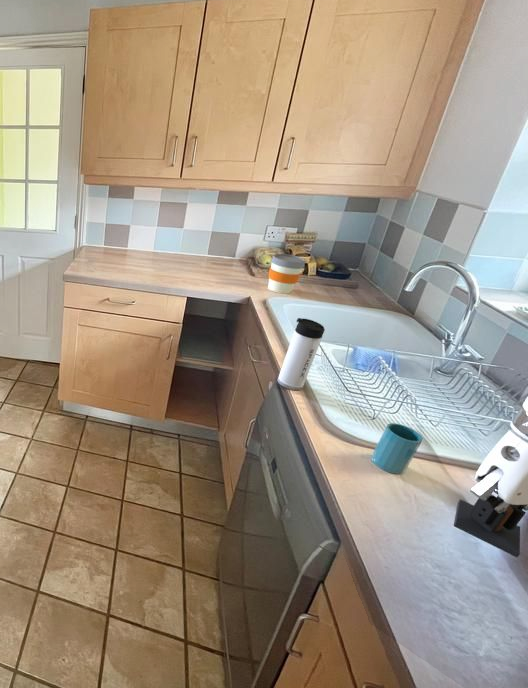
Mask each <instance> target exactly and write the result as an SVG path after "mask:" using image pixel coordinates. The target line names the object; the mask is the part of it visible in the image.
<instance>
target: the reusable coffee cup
mask: <svg viewBox="0 0 528 688" xmlns="http://www.w3.org/2000/svg"><path fill="white" fill-rule="evenodd" d="M270 262H271V266H269V271H268V283H267V284H268V285H267V289H268V290H269V291H271V292H274V293H278V294H291V292H292V290H293V288H294V287H295V284H297V283H298V281H299V279H300V278H301V275H302V271H303V269H304V268H305V264H306V259H305V258H303V257H301V256H298V255H294V254H288V253H275V254H273V256H272V258H271V260H270Z"/></svg>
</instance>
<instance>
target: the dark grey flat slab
mask: <svg viewBox="0 0 528 688" xmlns="http://www.w3.org/2000/svg"><path fill="white" fill-rule="evenodd" d="M498 500H499V499H498ZM499 501H500V500H499ZM474 505H475V504H471V503H470V502H467V501H465V500H463V499H458V501H457V504H456V510H455V516H454V521H453V527H455V528H456V529H459V530H460V531H462V532H464V533H467V534H468V535H471V536H472V537H475V538H476V539H479V540H480V541H483V542H484V543H487V544H489V545H490V546H493V547H495V548H497V549H498V550H501V551H502V552H505V553H507V554H509V555H510V556H513V557H515V558H519V556H520V554H521V526H519V525H518V524H517V525H516V527H515V528H514V529H513V530H508V529H506V528H505V527H503V524H504V523H505V522H506V520H507V519H508V518H509V516H510V515H511V514H512V512H513V511H514V509H513V508H512V507H511V506H510V505H509V506H508V507H507V509H506V510H505V511H504V512H505V513H506V514H507V515H506V516H505V518H504V519H503V521H502V522H501V523H500V525H499V526H498V527H497V529H496V530H495V531H491V532H490V531H488V530H487V529H486V528H484V527H483V526H482V525H481V524H479V523H478V522H477V521H476V520H474V519H473V518H472V517H471V516H470V515H469V512H470V511H471V509H472V508H473V506H474Z"/></svg>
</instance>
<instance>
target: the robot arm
mask: <svg viewBox="0 0 528 688" xmlns="http://www.w3.org/2000/svg"><path fill="white" fill-rule="evenodd" d="M509 425H510V429H509V430H508V431H507V432H506V433H505V434H504V435H503V436H502V437H501V439H500V440H499V441H498V442H497V443H496V444H495V446H494V447H493V448H492V449H491V451H489V453H488V454H487V456H486V457H485V458H484V459H483V461H482V462H481V464H480V466H479V467H478V469H477V471H476V472H475V477H474V478H475V481H476V482H477V484H475V485H474V486H473V487H472V488H470V493H471V494H473V495H474V496H475V497H477V500H476V502H475V503H474V504H473V505H474V506H473V508H472V509H471V511H470V512H469V515H470V516H471V517H472V518H473V519H474V520H476V521H477V522H478V523H479V524H481V525H482V526H483V527H484V528H486V529H487V530H488V531H490V532H491V531H495V530H496V529H497V527H498V526H499V525H500V523H501V522H502V521H503V519H504V518H505V516H506V515H507V514H506V513H505V512H504V511H505V510H506V509H507V507H508V506H509V505H510V506H511V507H512V508H513V509H514V511H513V512H512V514H511V515H510V516H509V518H508V519H507V520H506V522H505V523H504V524H503V527H505V528H506V529H508V530H513V529H514V528H515V527H516V525H517V526H518V525H519V523H520V521H521V520H522V519H523V518H524V516H525V515H526V514H527V512H528V396H527V397H526V398H525V400H524V401H523V403H522V405H521V406H520V408H519V409H518V412H517V413H516V414H515V416H514V417H513V419H512V420H511V422H510V424H509ZM493 493H495V494H496V495H497V496H495V495H494V494H493ZM498 499H499V500H500V501H499V500H498Z"/></svg>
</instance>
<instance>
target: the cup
mask: <svg viewBox="0 0 528 688" xmlns="http://www.w3.org/2000/svg"><path fill="white" fill-rule="evenodd" d="M422 443H423V437H422V435H421V434H420V433H418V431H416V430H414V429H413V428H411V427H409V426H407V425H404V424H400V423H396V422H394V423H393V422H391V423H388V424H387V425H386V427H385V428H384V430H383V433H382V434H381V436H380V437H379V440H378V442H377V444H376V446H375V448H374V450H373V451H372V454H371V456H370V459H371V462H372V463H373V464H374V465H375V466H377V467H378V468H379V469H381V470H383V471H385V472H388V473H389V474H390V473H391V474H394V475H402V474H404V473H405V472H406V471H407V469H408V467H409V465H410V464H411V461H412V460H413V458H414V456H415V455H416V453H417V452H418V449H419V448H420V446H421V444H422Z"/></svg>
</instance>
